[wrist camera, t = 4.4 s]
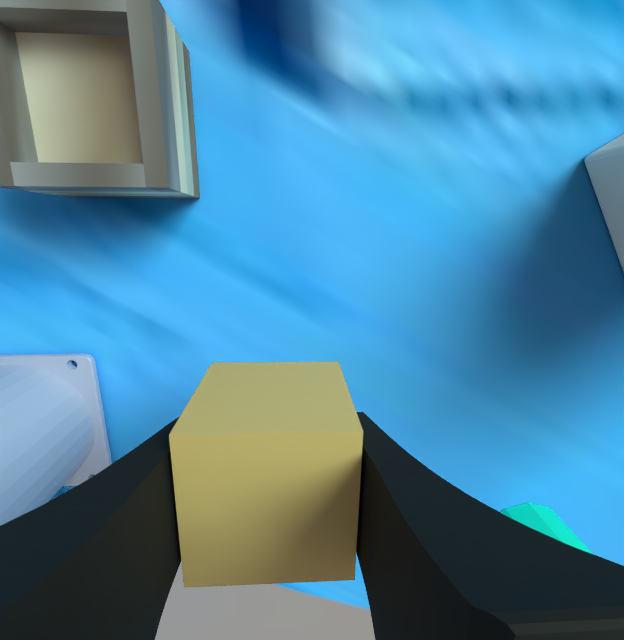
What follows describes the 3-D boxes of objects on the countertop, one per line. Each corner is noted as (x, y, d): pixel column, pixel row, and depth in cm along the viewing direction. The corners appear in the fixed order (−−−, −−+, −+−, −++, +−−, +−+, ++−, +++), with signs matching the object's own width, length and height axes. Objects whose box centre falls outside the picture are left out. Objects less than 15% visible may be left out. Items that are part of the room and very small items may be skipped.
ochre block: (219, 471, 12) (184, 587, 8) (212, 362, 11) (169, 434, 7) (334, 468, 12) (354, 580, 8) (338, 361, 11) (363, 431, 7)
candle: (472, 575, 24) (637, 891, 13) (483, 504, 23) (682, 788, 11) (554, 571, 25) (788, 876, 13) (571, 500, 23) (852, 774, 12)
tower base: (69, 197, 17) (-9, 185, 12) (44, 47, 15) (-55, -26, 11) (199, 198, 17) (168, 187, 13) (188, 52, 16) (148, -18, 11)
